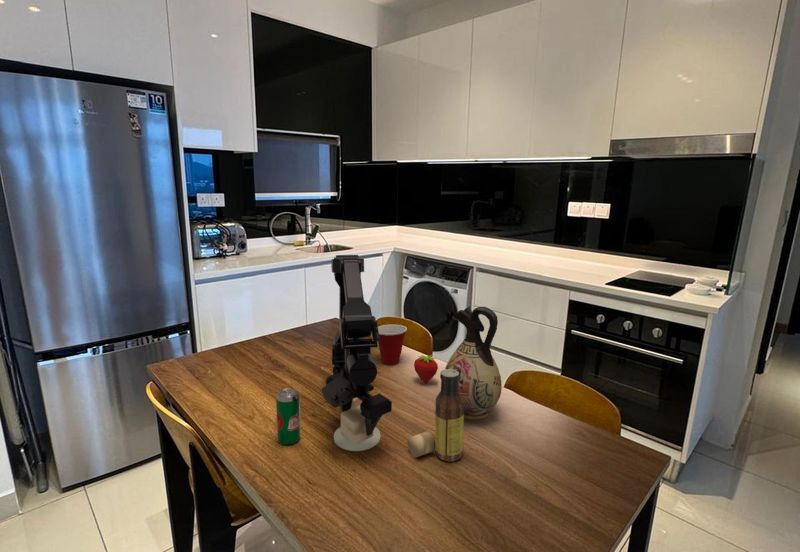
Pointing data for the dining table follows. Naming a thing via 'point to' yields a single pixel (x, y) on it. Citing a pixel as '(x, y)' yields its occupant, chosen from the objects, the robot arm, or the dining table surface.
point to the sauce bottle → (449, 418)
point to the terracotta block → (355, 403)
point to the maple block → (353, 425)
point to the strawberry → (425, 367)
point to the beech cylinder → (421, 444)
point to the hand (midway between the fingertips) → (357, 426)
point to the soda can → (288, 416)
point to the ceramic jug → (476, 364)
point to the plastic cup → (391, 343)
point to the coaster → (360, 446)
